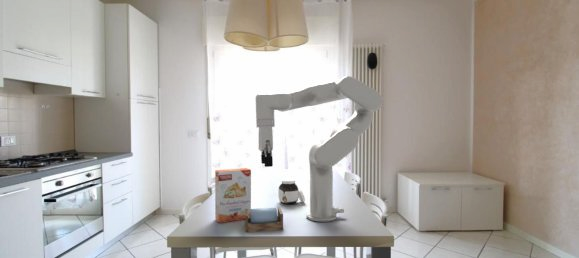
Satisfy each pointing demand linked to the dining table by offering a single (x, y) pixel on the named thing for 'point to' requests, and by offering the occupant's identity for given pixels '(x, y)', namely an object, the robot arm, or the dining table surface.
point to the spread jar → (289, 192)
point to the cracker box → (232, 194)
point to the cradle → (264, 226)
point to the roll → (263, 215)
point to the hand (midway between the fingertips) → (266, 164)
